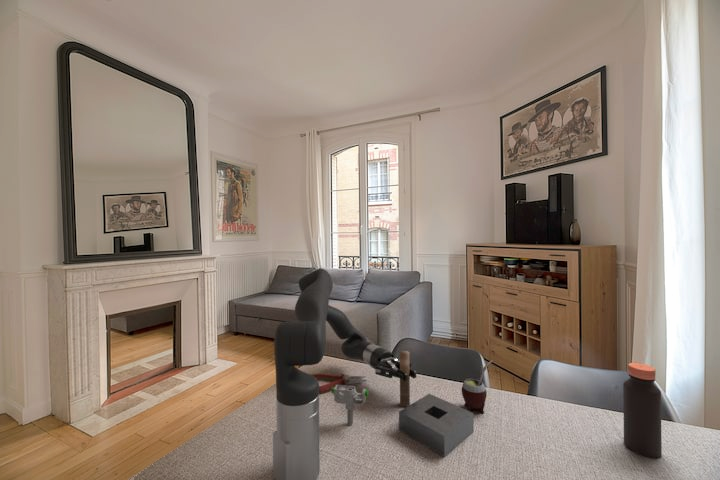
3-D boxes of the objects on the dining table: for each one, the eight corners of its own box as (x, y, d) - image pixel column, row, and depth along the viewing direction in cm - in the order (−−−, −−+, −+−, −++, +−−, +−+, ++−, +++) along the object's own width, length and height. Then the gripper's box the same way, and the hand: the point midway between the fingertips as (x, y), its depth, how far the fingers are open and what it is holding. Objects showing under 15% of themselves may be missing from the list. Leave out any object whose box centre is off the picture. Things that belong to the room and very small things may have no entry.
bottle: (641, 459, 70) (640, 372, 70) (616, 439, 77) (615, 361, 77) (670, 458, 70) (669, 372, 70) (642, 439, 77) (641, 361, 77)
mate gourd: (457, 407, 92) (456, 358, 92) (472, 399, 97) (471, 352, 97) (479, 419, 86) (479, 366, 86) (494, 409, 91) (493, 360, 91)
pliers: (370, 389, 104) (369, 382, 104) (308, 397, 100) (308, 388, 100) (362, 375, 116) (362, 368, 116) (306, 380, 112) (306, 373, 112)
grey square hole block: (444, 457, 71) (444, 436, 71) (399, 429, 81) (398, 411, 82) (473, 431, 81) (473, 413, 81) (429, 410, 91) (429, 393, 91)
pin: (405, 407, 92) (405, 354, 92) (398, 403, 94) (397, 352, 94) (411, 404, 94) (411, 352, 94) (404, 400, 96) (403, 349, 96)
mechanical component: (367, 429, 82) (367, 392, 82) (331, 425, 84) (330, 389, 84) (369, 422, 85) (368, 387, 85) (334, 418, 87) (333, 384, 87)
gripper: (361, 351, 102) (392, 369, 88) (393, 343, 110) (427, 359, 95) (361, 373, 102) (393, 395, 88) (393, 364, 110) (428, 383, 95)
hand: (410, 376), depth 92 cm, fingers closed on pin, 3 cm apart
